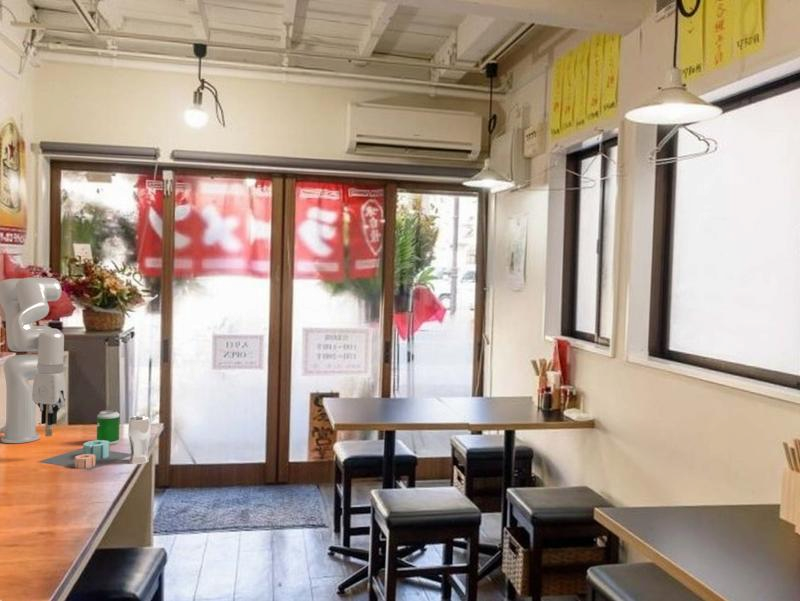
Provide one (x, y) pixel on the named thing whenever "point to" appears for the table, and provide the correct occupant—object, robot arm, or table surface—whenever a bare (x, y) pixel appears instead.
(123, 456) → the mat
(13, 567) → the table surface
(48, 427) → the tan wooden dowel
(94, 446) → the pale teal gear
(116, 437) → the soda can
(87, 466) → the bead small
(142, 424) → the beer glass
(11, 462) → the table surface
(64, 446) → the table surface
